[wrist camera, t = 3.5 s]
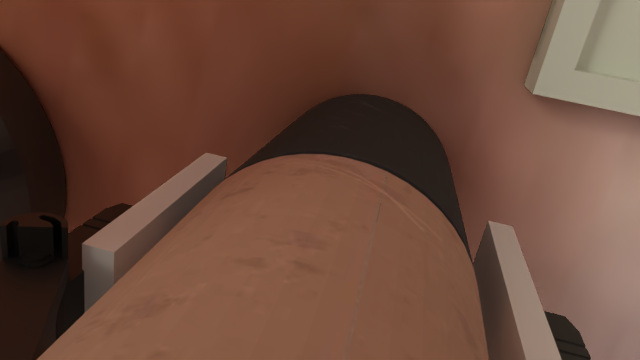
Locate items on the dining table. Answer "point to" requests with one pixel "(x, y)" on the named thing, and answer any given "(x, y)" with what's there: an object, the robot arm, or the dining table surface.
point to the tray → (590, 54)
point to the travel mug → (306, 256)
